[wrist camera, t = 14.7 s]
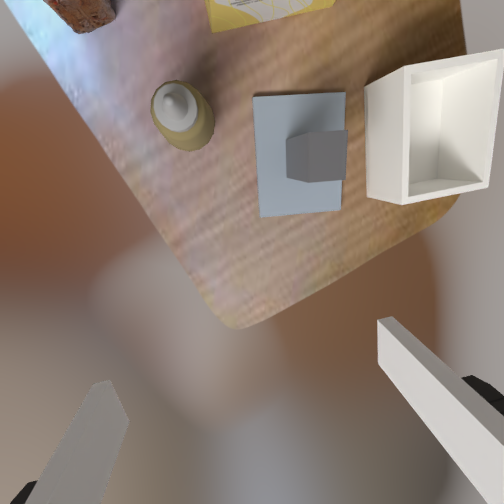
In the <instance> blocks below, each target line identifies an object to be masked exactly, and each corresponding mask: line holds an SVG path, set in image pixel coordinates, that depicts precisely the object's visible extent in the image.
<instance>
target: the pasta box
mask: <svg viewBox="0 0 504 504" xmlns="http://www.w3.org/2000/svg"><path fill="white" fill-rule="evenodd" d="M335 1H336V0H205V5H206V9H207V13H208V18H209V22H210V27H211V31H212V33H216V32H221V31H225V30H230V29H234V28H239V27H243V26H247V25H252V24H256V23H261V22H265V21H270V20H274V19H279V18H283V17H288V16H292V15H296V14H301V13H305V12H310V11H314V10H319V9H323V8H328V7H332V5H333V4H334V2H335Z"/></svg>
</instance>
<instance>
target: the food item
mask: <svg viewBox="0 0 504 504" xmlns="http://www.w3.org/2000/svg"><path fill="white" fill-rule="evenodd" d="M43 1H44V2H45V3H47V4H48V5H49V6H50V7H51V8H52V9H53V10H54V11H55V12H56V13H57V14H58V15H59V17H60V18H61V19H63V20H64V21H65V22H66V23H67V25H69V26H70V27H71V28H72V29H73V31H74V32H76V33H78V34H82V33H86V32H87V33H89V32H92V31H93V30H95V29H96V28H99V27H101V26H104V25H106V24H108V23H111V22H112V21H113V20H115V16H116V15H115V12H114V10H113V9H112V7H111V1H110V0H43Z"/></svg>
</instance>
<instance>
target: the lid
mask: <svg viewBox="0 0 504 504" xmlns="http://www.w3.org/2000/svg"><path fill="white" fill-rule="evenodd" d="M345 96H346V92H336V93H318V94H299V95H281V96H262V97H253V98H252V104H253V120H254V136H255V152H256V169H257V185H258V201H259V217H270V216H281V215H292V214H302V213H313V212H324V211H335V210H341V191H342V180H346V158H347V137H348V130H344V120H345Z"/></svg>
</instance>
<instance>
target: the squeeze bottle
mask: <svg viewBox="0 0 504 504" xmlns="http://www.w3.org/2000/svg"><path fill="white" fill-rule="evenodd" d="M151 115H152V118H153V121H154V124H155V125H156V127H157V128H158V129H159V131H160V132H161V133H162V135H163V136H164V137H165V138H166V140H167V141H168V142H169V143H170V144H171V145H173V146H175V147H176V148H178V149H180V150H185V151H194V150H199V149H201V148H202V147H203V146H205V145H206V144H207V143H208V142H209V141H210V139H211V137H212V135H213V134H214V126H215V120H214V115H213V111H212V109H211V107H210V106H209V104H208V103H207V101H206V100H205V99H204V97H203V96H202V95H201V94H200V93H199V91H198V90H197V89H195V88H194V87H193V86H191V85H190V84H189V83H187V82H183V81H178V80H174V81H169V82H165V83H164V84H162V85H161V86H160V87H159V88H157V89H156V91H155V93H154V95H153V97H152V99H151Z"/></svg>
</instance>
